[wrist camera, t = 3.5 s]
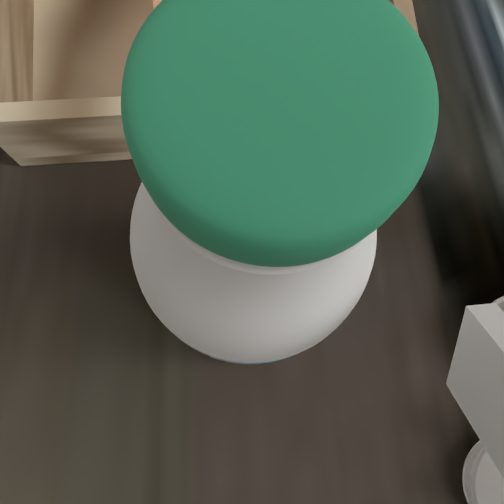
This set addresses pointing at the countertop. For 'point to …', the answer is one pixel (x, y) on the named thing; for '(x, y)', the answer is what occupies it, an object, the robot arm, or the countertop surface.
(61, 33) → the wooden box
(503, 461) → the robot arm
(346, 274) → the milk bottle
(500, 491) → the container set
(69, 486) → the countertop surface
